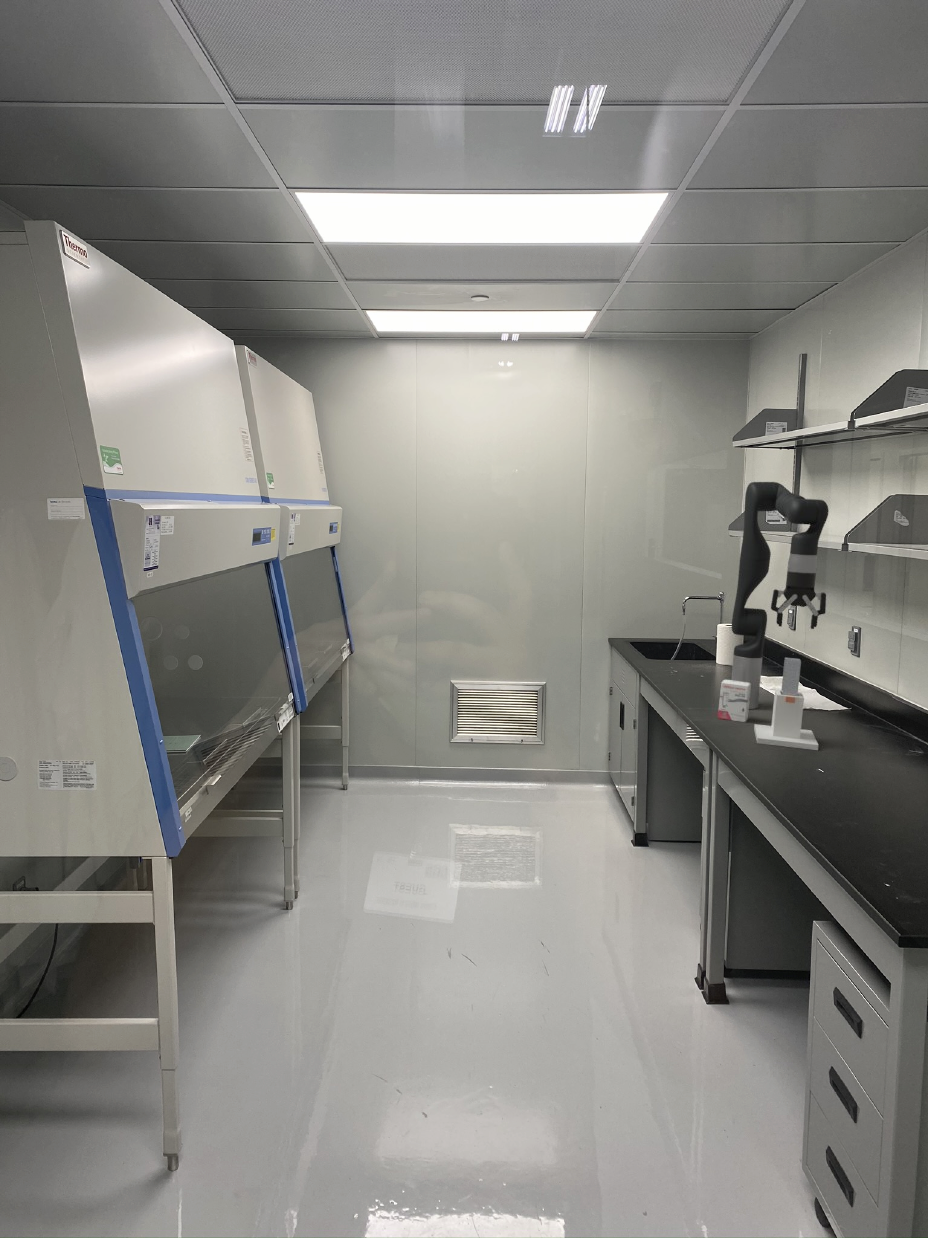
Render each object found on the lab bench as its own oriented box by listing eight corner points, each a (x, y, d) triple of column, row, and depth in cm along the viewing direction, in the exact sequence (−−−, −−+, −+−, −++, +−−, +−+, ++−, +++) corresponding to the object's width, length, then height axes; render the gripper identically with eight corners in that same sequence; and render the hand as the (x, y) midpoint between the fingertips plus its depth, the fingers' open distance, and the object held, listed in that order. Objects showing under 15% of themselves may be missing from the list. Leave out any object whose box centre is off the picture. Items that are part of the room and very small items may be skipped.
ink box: (716, 718, 256) (720, 681, 255) (719, 715, 261) (723, 679, 259) (745, 722, 252) (748, 685, 251) (747, 719, 257) (751, 682, 255)
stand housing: (754, 729, 245) (758, 685, 243) (811, 735, 241) (815, 691, 239) (757, 743, 230) (761, 696, 228) (817, 750, 226) (823, 703, 224)
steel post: (776, 731, 238) (784, 657, 235) (792, 732, 237) (799, 658, 233) (778, 734, 234) (785, 659, 231) (793, 736, 233) (801, 661, 229)
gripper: (827, 571, 230) (821, 627, 232) (773, 568, 234) (768, 623, 236) (830, 573, 223) (824, 631, 225) (775, 569, 227) (770, 627, 229)
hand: (795, 627), depth 231 cm, fingers open, 8 cm apart
